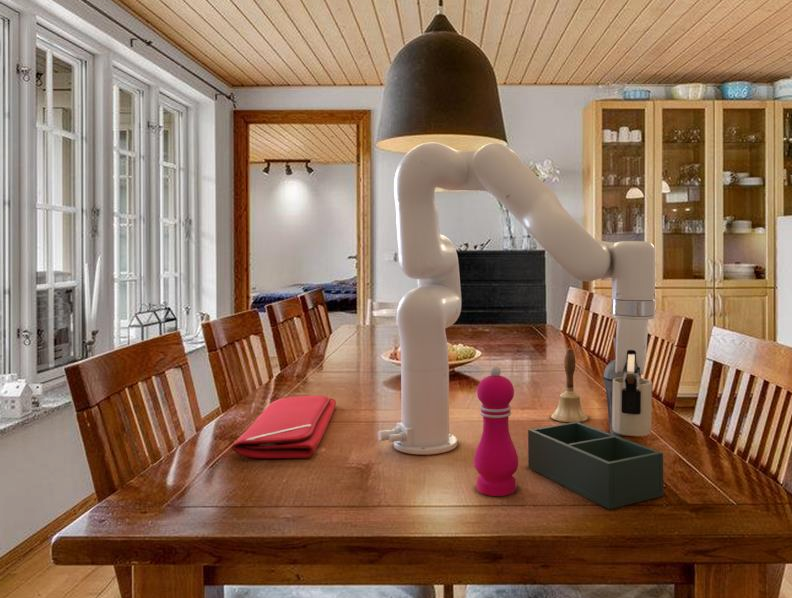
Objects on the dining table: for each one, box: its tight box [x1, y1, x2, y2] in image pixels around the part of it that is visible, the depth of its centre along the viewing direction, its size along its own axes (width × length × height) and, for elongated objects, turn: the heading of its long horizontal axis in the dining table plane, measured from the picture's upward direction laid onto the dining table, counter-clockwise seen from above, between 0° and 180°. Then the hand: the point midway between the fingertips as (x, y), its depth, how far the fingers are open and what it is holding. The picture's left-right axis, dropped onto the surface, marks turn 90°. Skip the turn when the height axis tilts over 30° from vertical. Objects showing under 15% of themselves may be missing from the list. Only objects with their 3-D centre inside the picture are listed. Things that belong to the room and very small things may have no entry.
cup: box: [612, 377, 653, 437], centre depth 119 cm, size 7×7×9 cm
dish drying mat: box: [231, 394, 337, 459], centre depth 143 cm, size 16×41×4 cm, turn 5°
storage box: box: [527, 422, 665, 510], centre depth 111 cm, size 11×21×7 cm, turn 28°
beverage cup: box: [602, 337, 629, 437], centre depth 139 cm, size 7×7×20 cm
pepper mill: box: [473, 365, 519, 497], centre depth 107 cm, size 7×7×20 cm
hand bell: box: [550, 348, 589, 423], centre depth 151 cm, size 8×8×16 cm
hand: (631, 407), depth 119 cm, fingers closed on cup, 6 cm apart
